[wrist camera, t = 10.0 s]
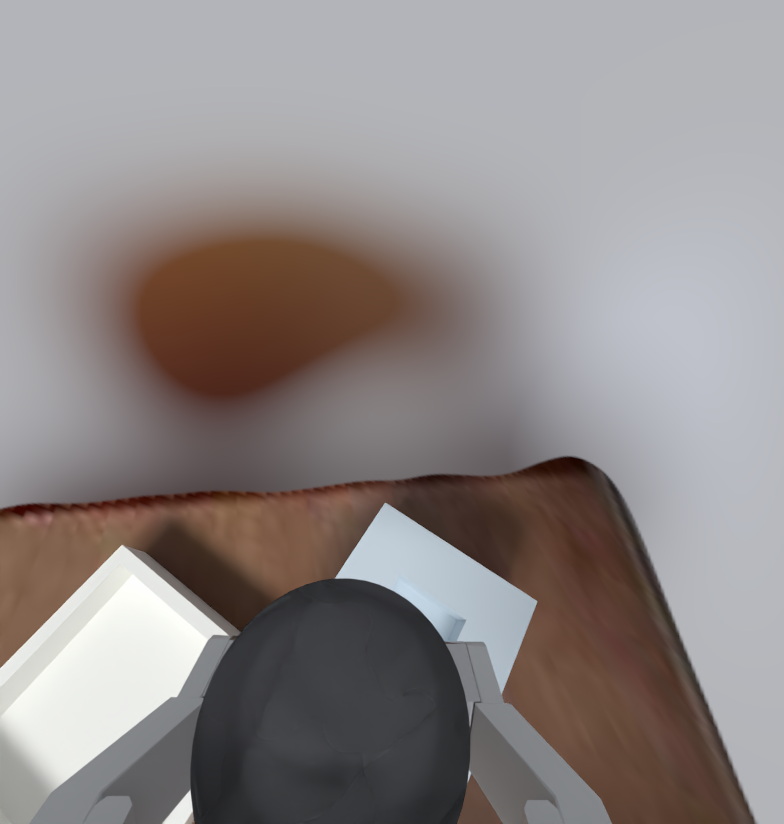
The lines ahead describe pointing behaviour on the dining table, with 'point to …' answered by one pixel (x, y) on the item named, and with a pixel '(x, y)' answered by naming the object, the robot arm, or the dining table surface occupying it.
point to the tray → (97, 676)
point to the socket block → (443, 587)
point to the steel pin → (333, 716)
